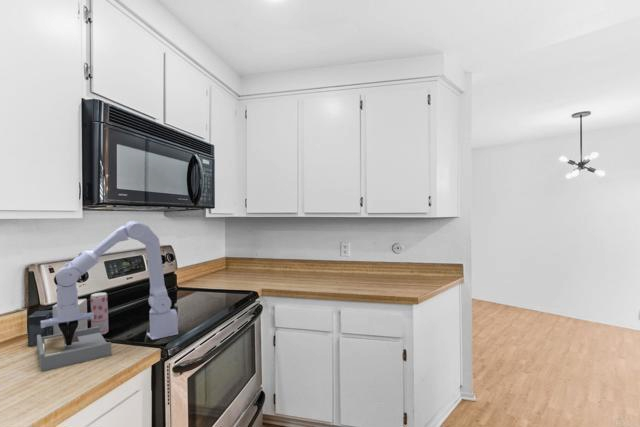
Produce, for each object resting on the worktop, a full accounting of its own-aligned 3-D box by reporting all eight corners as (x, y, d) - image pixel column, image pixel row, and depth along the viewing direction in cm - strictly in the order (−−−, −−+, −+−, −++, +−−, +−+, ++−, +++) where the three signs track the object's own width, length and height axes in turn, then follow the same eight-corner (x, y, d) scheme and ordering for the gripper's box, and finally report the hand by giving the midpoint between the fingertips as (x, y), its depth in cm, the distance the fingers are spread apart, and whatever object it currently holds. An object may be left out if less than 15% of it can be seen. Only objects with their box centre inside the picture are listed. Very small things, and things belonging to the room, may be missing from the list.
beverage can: (101, 335, 141) (99, 296, 141) (87, 335, 142) (86, 295, 142) (111, 330, 147) (110, 292, 147) (99, 330, 148) (98, 292, 148)
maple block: (63, 346, 126) (62, 335, 126) (64, 350, 122) (64, 339, 122) (44, 349, 123) (44, 339, 123) (45, 354, 119) (45, 343, 119)
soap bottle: (53, 341, 136) (51, 289, 135) (62, 333, 144) (60, 284, 144) (80, 339, 138) (78, 287, 138) (87, 331, 147) (86, 282, 146)
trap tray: (99, 337, 140) (99, 323, 140) (111, 354, 123) (111, 339, 123) (37, 349, 129) (36, 335, 128) (41, 371, 111) (40, 354, 111)
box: (47, 344, 133) (46, 315, 133) (27, 347, 131) (26, 316, 131) (54, 337, 140) (53, 309, 140) (35, 339, 138) (35, 311, 138)
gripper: (91, 297, 132) (92, 336, 133) (39, 305, 123) (40, 346, 124) (94, 301, 127) (95, 341, 127) (40, 309, 118) (42, 352, 118)
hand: (68, 344), depth 125 cm, fingers closed
